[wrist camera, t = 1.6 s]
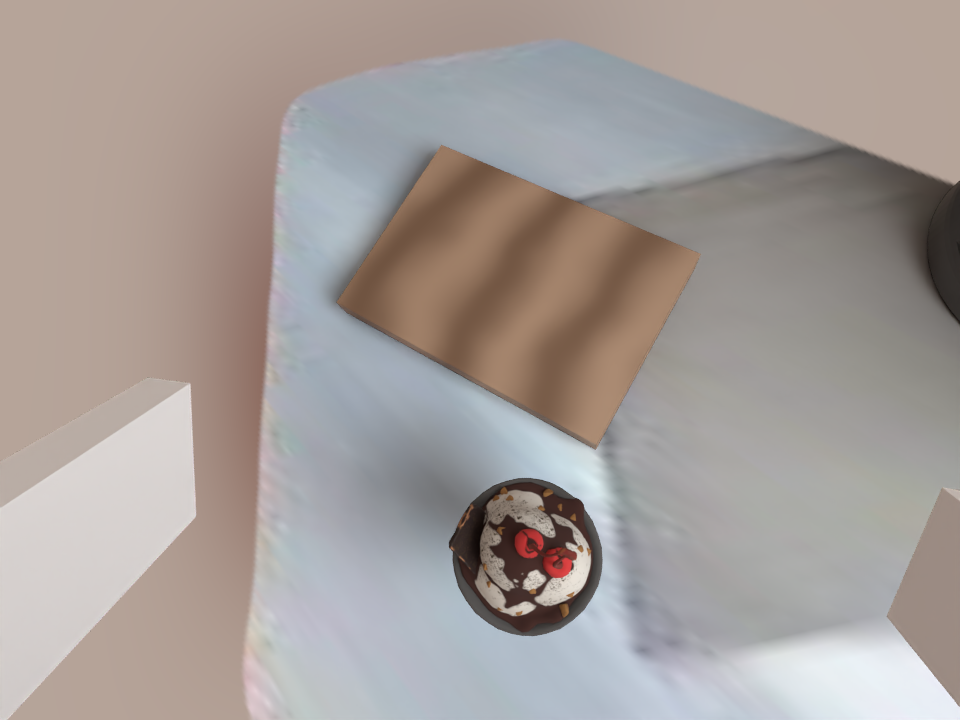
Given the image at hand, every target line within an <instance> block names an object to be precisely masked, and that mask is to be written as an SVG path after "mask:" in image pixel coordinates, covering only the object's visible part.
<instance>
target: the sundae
mask: <svg viewBox="0 0 960 720" xmlns="http://www.w3.org/2000/svg"><path fill="white" fill-rule="evenodd" d="M449 548H450V549H451V550H452V551H453V566H454V572H455V576H456V579H457V583H458V587H459V589H460V590H461V592H462V594H463V596H464V598H465V599H466V601H467V602H468V604H469V605H470V606H471V608H472V609H473V610H474V612H475V613H476V614H478V615H479V616H480V617H481V618H483V619H484V620H485V621H486V622H488V623H489V624H491V625H492V626H494V627H496V628H497V629H500V630H502V631H505V632H508V633H511V634H516V635H521V636H537V635H542V634H547V633H550V632H553V631H555V630H558V629H561V628H562V627H564V626H565V625H567V624H568V623H570V622H571V621H572V620H574V619H575V618H576V617H577V616H578V615H579V614H580V613H581V612H582V611H583V610H584V609H585V608H586V606H587V605H588V603H589V602H590V600H591V599H592V597H593V595H594V593H595V591H596V589H597V587H598V584H599V580H600V576H601V572H602V547H601V544H600V540H599V536H598V533H597V531H596V528H595V526H594V523H593V521H592V519H591V518H590V516H589V515H588V514H587V512H586V511H585V509H584V505H583V503H582V501H580V500H579V499H577V498H574V497H573V496H572V495H570V494H569V493H568V492H566V491H565V490H563V489H562V488H560V487H558V486H556V485H555V484H553V483H550V482H547V481H543V480H539V479H532V478H518V479H513V480H509V481H505V482H502V483H500V484H497V485H494V486H492V487H491V488H489V489H488V490H486V491H485V492H483V493H482V494H481V495H480V496H479V497H477V498H476V499H475V500H474V501H473V502H472V503H471V504H470V506H469V507H468V509H467V510H466V512H465V513H464V515H463V516H462V518H461V520H460V522H459V524H458V526H457V528H456V531H455V533H454V535H453V536H452V538H451V540H450V541H449Z"/></svg>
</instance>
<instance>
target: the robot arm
mask: <svg viewBox="0 0 960 720" xmlns="http://www.w3.org/2000/svg"><path fill="white" fill-rule="evenodd" d="M928 260H929V265H930V269H931V273H932V276H933V279H934V282H935V284H936V286H937V288H938V291H939V293H940V294H941V296H942V298H943V300H944V301H945V303H946V304H947V306H948V307H949V308H950V310H951V311H952V312H953V314H954V315H955V316H956V317H957V318H958V319H959V321H960V181H959V182H958V183H957V184H956V185H955V186H953V188H952V189H951V190H950V191H949V192H948V193H947V194H946V195H945V197H944V198H943V199H942V201H941V202H940V204H939V206H938V207H937V209H936V211H935V213H934V216H933V218H932V221H931V225H930V229H929V234H928ZM195 517H196V502H195V479H194V456H193V433H192V411H191V387H190V383H186V382H178V381H171V380H164V379H157V378H150V377H148V378H146V379H144V380H142V381H141V382H139V383H137V384H135V385H133V386H132V387H130V388H128V389H126V390H125V391H123V392H121V393H119V394H118V395H116V396H115V397H112V398H111V399H109V400H107V401H106V402H104V403H102V404H100V405H98V406H97V407H95V408H93V409H91V410H89V411H88V412H86V413H84V414H82V415H81V416H79V417H77V418H75V419H74V420H72V421H70V422H68V423H67V424H65V425H63V426H61V427H59V428H58V429H56V430H54V431H52V432H51V433H49V434H47V435H45V436H44V437H42V438H40V439H38V440H37V441H35V442H33V443H32V444H30V445H28V446H26V447H24V448H23V449H21V450H19V451H17V452H15V453H14V454H12V455H10V456H8V457H7V458H5V459H3V460H1V461H0V720H8V719H9V717H10V716H11V715H12V714H13V713H14V712H15V711H16V710H17V709H18V708H19V707H20V706H21V705H22V703H23V702H24V701H25V700H26V699H27V698H28V697H29V696H30V695H31V694H32V692H33V691H35V689H36V688H37V687H38V686H39V685H40V684H41V683H42V682H43V681H44V680H45V679H46V678H47V676H48V675H49V674H50V673H51V672H52V671H53V670H54V669H55V668H56V667H57V666H58V665H59V664H60V662H61V661H62V660H63V659H64V658H65V657H66V656H67V655H68V654H69V653H70V652H71V651H72V650H73V648H74V647H75V646H76V645H77V644H78V643H79V642H80V641H81V640H82V639H83V638H84V637H85V636H86V634H87V633H88V632H89V631H90V630H91V629H92V628H93V627H94V626H95V625H96V624H97V622H99V620H100V619H101V618H102V617H103V616H104V615H105V614H106V613H107V612H108V611H109V610H110V609H111V607H112V606H113V605H114V604H115V603H116V602H117V601H118V600H119V599H120V598H121V597H122V596H123V595H124V594H125V592H126V591H127V590H128V589H129V588H130V587H131V586H132V585H133V584H134V583H135V582H136V581H137V580H138V578H139V577H140V576H141V575H142V574H143V573H144V572H145V571H146V570H147V569H148V568H149V566H150V565H151V564H152V563H153V562H154V561H155V560H156V559H157V558H158V557H159V556H160V555H161V554H162V553H163V551H164V550H165V549H166V548H167V547H168V546H169V545H170V544H171V543H172V542H173V541H174V540H175V539H176V537H177V536H178V535H179V534H180V533H181V532H182V531H183V530H184V529H185V528H186V527H187V526H188V525H189V523H190V522H191V521H192V520H193V519H194V518H195ZM887 618H888V619H889V620H890V621H891V622H892V624H893V625H894V626H895V627H896V629H897V630H898V631H899V632H900V634H901V635H902V636H903V637H904V639H905V640H906V641H907V642H908V644H909V645H910V646H911V647H912V649H913V650H914V651H915V652H916V653H917V655H918V656H919V657H920V658H921V660H922V661H923V662H924V663H925V665H926V666H927V667H928V668H929V670H930V671H931V672H932V673H933V675H934V676H935V677H936V678H937V680H938V681H939V682H940V683H941V684H942V686H943V687H944V688H945V689H946V691H947V692H948V693H949V694H950V696H951V697H952V698H953V699H954V701H955V702H956V703H957V704H958V706H959V707H960V490H956V489H949V488H942V489H941V491H940V494H939V496H938V498H937V501H936V503H935V505H934V508H933V510H932V512H931V515H930V517H929V519H928V521H927V524H926V526H925V528H924V531H923V533H922V535H921V538H920V540H919V542H918V545H917V547H916V549H915V552H914V554H913V556H912V559H911V561H910V563H909V566H908V568H907V570H906V573H905V575H904V577H903V580H902V582H901V584H900V587H899V589H898V591H897V594H896V596H895V598H894V601H893V603H892V605H891V608H890V610H889V612H888V615H887Z"/></svg>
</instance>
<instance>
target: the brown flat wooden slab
mask: <svg viewBox="0 0 960 720" xmlns="http://www.w3.org/2000/svg"><path fill="white" fill-rule="evenodd" d="M700 255H701V254H699V253H697V252H695V251H692V250H690V249H687V248H685V247H683V246H680V245H678V244H676V243H673V242H671V241H668V240H666V239H664V238H661V237H659V236H657V235H654V234H652V233H649V232H647V231H645V230H642V229H640V228H638V227H635V226H633V225H630V224H628V223H626V222H623V221H621V220H619V219H616V218H614V217H611V216H609V215H607V214H604V213H602V212H600V211H597V210H595V209H592V208H590V207H588V206H585V205H583V204H580V203H578V202H576V201H573V200H571V199H569V198H566V197H564V196H561V195H559V194H557V193H554V192H552V191H550V190H547V189H545V188H542V187H540V186H538V185H535V184H533V183H531V182H528V181H526V180H523V179H521V178H519V177H516V176H514V175H512V174H509V173H507V172H504V171H502V170H500V169H497V168H495V167H493V166H490V165H488V164H485V163H483V162H481V161H478V160H476V159H474V158H471V157H469V156H466V155H464V154H462V153H459V152H457V151H455V150H452V149H450V148H447V147H445V146H443V145H441V146H440V148H439V149H438V151H437V152H436V154H435V155H434V157H433V158H432V160H431V161H430V163H429V164H428V166H427V167H426V169H425V170H424V172H423V173H422V175H421V176H420V178H419V179H418V181H417V182H416V184H415V185H414V187H413V188H412V190H411V191H410V193H409V194H408V196H407V197H406V199H405V200H404V202H403V203H402V205H401V206H400V208H399V209H398V211H397V212H396V214H395V215H394V217H393V218H392V220H391V221H390V223H389V224H388V226H387V227H386V229H385V230H384V232H383V233H382V235H381V236H380V238H379V239H378V241H377V242H376V244H375V245H374V247H373V248H372V250H371V251H370V253H369V254H368V256H367V257H366V259H365V260H364V262H363V263H362V265H361V266H360V268H359V269H358V271H357V272H356V274H355V275H354V277H353V278H352V280H351V281H350V283H349V284H348V286H347V287H346V289H345V290H344V292H343V293H342V295H341V296H340V298H339V299H338V301H337V302H336V303H337V304H338V305H339V306H341V307H342V308H343V309H344V310H345V311H346V312H347V313H348V314H350V315H352V316H354V317H355V318H357V319H359V320H361V321H363V322H364V323H366V324H368V325H370V326H372V327H374V328H375V329H377V330H379V331H381V332H383V333H384V334H386V335H388V336H390V337H392V338H394V339H395V340H397V341H399V342H401V343H403V344H404V345H406V346H408V347H410V348H412V349H414V350H415V351H417V352H419V353H421V354H423V355H424V356H426V357H428V358H430V359H432V360H434V361H435V362H437V363H439V364H441V365H443V366H444V367H446V368H448V369H450V370H452V371H454V372H455V373H457V374H459V375H461V376H463V377H464V378H466V379H468V380H470V381H472V382H474V383H475V384H477V385H479V386H481V387H483V388H484V389H486V390H488V391H490V392H492V393H493V394H495V395H497V396H499V397H501V398H503V399H504V400H506V401H508V402H510V403H512V404H513V405H515V406H517V407H519V408H521V409H523V410H524V411H526V412H528V413H530V414H532V415H533V416H535V417H537V418H539V419H541V420H543V421H544V422H546V423H548V424H550V425H552V426H553V427H555V428H557V429H559V430H561V431H563V432H564V433H566V434H568V435H570V436H572V437H573V438H575V439H577V440H579V441H581V442H583V443H584V444H586V445H588V446H590V447H592V448H593V449H595V450H596V448H597V446H598V445H599V443H600V441H601V439H602V437H603V435H604V434H605V432H606V430H607V428H608V426H609V424H610V423H611V421H612V419H613V417H614V415H615V413H616V412H617V410H618V408H619V406H620V404H621V403H622V401H623V399H624V397H625V395H626V393H627V392H628V390H629V388H630V386H631V384H632V382H633V381H634V379H635V377H636V375H637V373H638V371H639V370H640V368H641V366H642V364H643V362H644V360H645V359H646V357H647V355H648V353H649V351H650V349H651V348H652V346H653V344H654V342H655V340H656V338H657V337H658V335H659V333H660V331H661V329H662V327H663V326H664V324H665V322H666V320H667V318H668V316H669V315H670V313H671V311H672V309H673V307H674V306H675V304H676V302H677V300H678V298H679V296H680V295H681V293H682V291H683V289H684V287H685V285H686V284H687V282H688V280H689V278H690V276H691V274H692V273H693V271H694V269H695V267H696V264H697V262H698V260H699V257H700Z"/></svg>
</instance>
